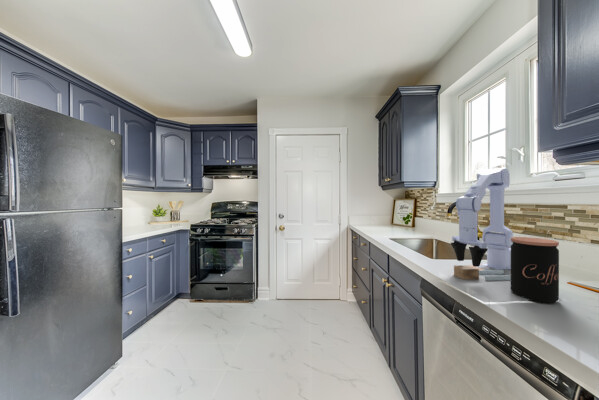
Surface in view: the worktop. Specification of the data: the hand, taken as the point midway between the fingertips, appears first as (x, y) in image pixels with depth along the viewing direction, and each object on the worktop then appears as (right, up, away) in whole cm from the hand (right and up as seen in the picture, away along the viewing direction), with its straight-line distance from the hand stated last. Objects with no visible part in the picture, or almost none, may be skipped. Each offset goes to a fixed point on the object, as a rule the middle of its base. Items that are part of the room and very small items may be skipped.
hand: (468, 263), depth 89 cm
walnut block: (0, -6, +1) cm, 6 cm away
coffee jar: (+9, -6, -16) cm, 20 cm away
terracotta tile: (+9, -6, +12) cm, 16 cm away
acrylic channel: (+11, -6, +1) cm, 12 cm away
